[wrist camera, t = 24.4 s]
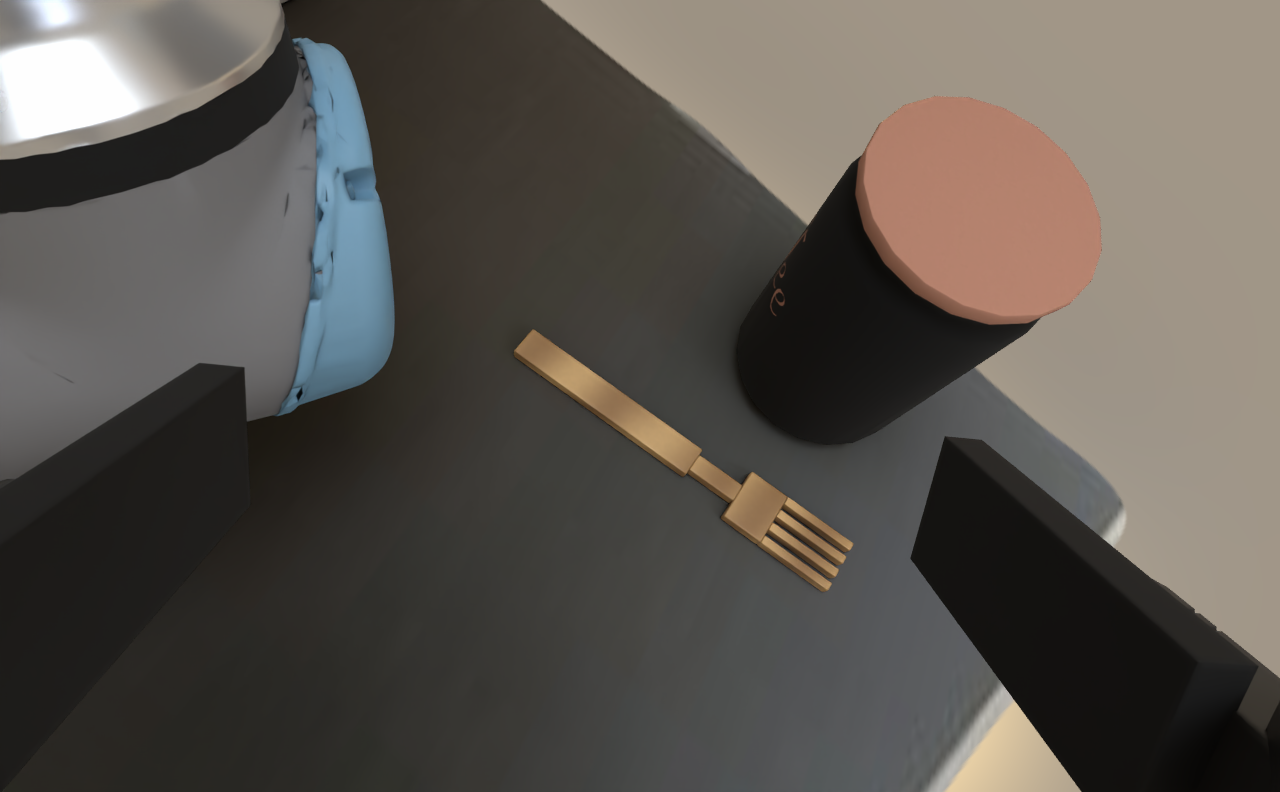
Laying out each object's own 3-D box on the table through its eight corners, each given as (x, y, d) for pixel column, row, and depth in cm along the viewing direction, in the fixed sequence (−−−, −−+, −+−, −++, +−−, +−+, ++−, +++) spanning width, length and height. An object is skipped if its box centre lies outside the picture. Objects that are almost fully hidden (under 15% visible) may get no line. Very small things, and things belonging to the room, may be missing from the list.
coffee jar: (824, 266, 51) (988, 62, 34) (925, 397, 49) (1152, 247, 32) (697, 338, 47) (810, 148, 31) (800, 483, 45) (982, 364, 28)
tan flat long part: (505, 365, 44) (506, 359, 43) (539, 326, 45) (540, 319, 45) (822, 592, 43) (828, 590, 42) (848, 546, 44) (854, 543, 43)
